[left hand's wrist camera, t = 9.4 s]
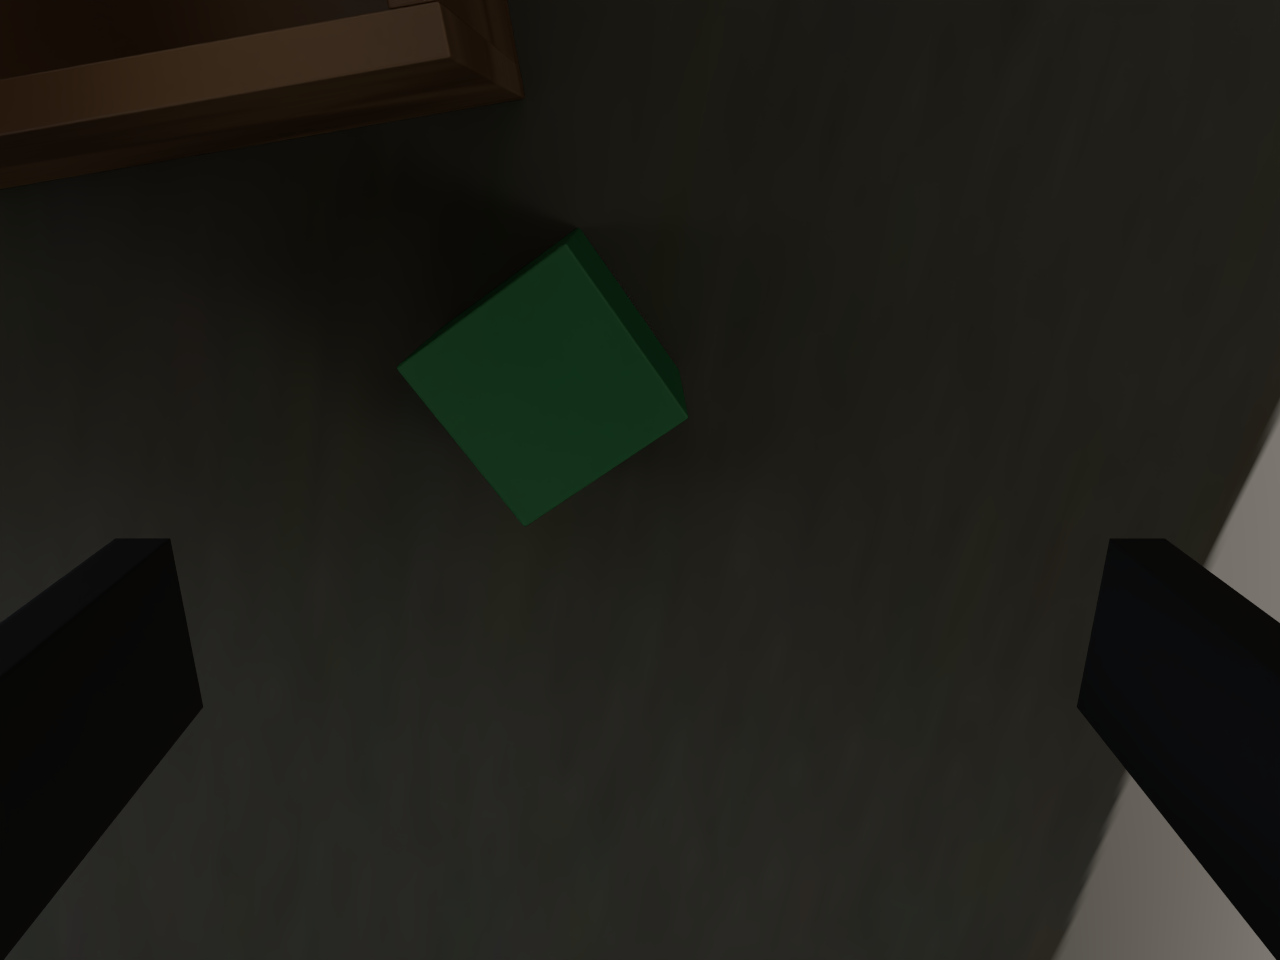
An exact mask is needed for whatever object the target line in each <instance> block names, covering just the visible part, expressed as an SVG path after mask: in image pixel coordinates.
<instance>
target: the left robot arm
mask: <svg viewBox="0 0 1280 960" xmlns="http://www.w3.org/2000/svg"><path fill="white" fill-rule="evenodd" d="M202 708H203V704H202V699H201V694H200V688H199V683H198V678H197V673H196V668H195V663H194V658H193V653H192V648H191V643H190V637H189V632H188V627H187V622H186V617H185V612H184V607H183V602H182V597H181V591H180V586H179V581H178V576H177V571H176V566H175V561H174V556H173V551H172V546H171V540H170V539H114V540H113V541H111V542H110V543H109V544H107V545H106V546H105V547H103V548H102V549H100V550H99V551H98V552H96V553H95V554H94V555H92V556H91V557H90V558H88V559H87V560H86V561H84V562H83V563H81V564H80V565H79V566H77V567H76V568H75V569H73V570H72V571H71V572H69V573H68V574H66V575H65V576H64V577H62V578H61V579H60V580H58V581H57V582H56V583H54V584H53V585H51V586H50V587H49V588H47V589H46V590H45V591H43V592H42V593H41V594H39V595H38V596H36V597H35V598H34V599H32V600H31V601H30V602H28V603H27V604H26V605H24V606H23V607H21V608H20V609H19V610H17V611H16V612H15V613H13V614H12V615H11V616H9V617H8V618H7V619H5V620H4V621H2V622H1V623H0V960H4V959H5V957H6V956H7V955H8V954H9V952H10V951H11V950H12V948H13V947H14V946H15V945H16V943H17V942H18V941H19V940H20V938H21V937H22V936H23V935H24V933H25V932H26V931H27V929H28V928H29V927H30V926H31V924H32V923H33V922H34V921H35V919H36V918H37V917H38V916H39V914H40V913H41V912H42V910H43V909H44V908H45V907H46V905H47V904H48V903H49V902H50V900H51V899H52V898H53V897H54V895H55V894H56V893H57V891H58V890H59V889H60V888H61V886H62V885H63V884H64V883H65V881H66V880H67V879H68V878H69V876H70V875H71V874H72V872H73V871H74V870H75V869H76V867H77V866H78V865H79V864H80V862H81V861H82V860H83V859H84V857H85V856H86V855H87V853H88V852H89V851H90V850H91V848H92V847H93V846H94V845H95V843H96V842H97V841H98V840H99V838H100V837H101V836H102V834H103V833H104V832H105V831H106V829H107V828H108V827H109V826H110V824H111V823H112V822H113V820H114V819H115V818H116V817H117V815H118V814H119V813H120V812H121V810H122V809H123V808H124V807H125V805H126V804H127V803H128V801H129V800H130V799H131V798H132V796H133V795H134V794H135V793H136V791H137V790H138V789H139V788H140V786H141V785H142V784H143V782H144V781H145V780H146V779H147V777H148V776H149V775H150V774H151V772H152V771H153V770H154V769H155V767H156V766H157V765H158V763H159V762H160V761H161V760H162V758H163V757H164V756H165V755H166V753H167V752H168V751H169V750H170V748H171V747H172V746H173V744H174V743H175V742H176V741H177V739H178V738H179V737H180V736H181V734H182V733H183V732H184V731H185V729H186V728H187V727H188V725H189V724H190V723H191V722H192V720H193V719H194V718H195V717H196V715H197V714H198V713H199V712H200V710H201V709H202ZM1077 708H1078V709H1079V710H1080V712H1081V713H1082V714H1083V715H1084V717H1085V718H1086V719H1087V720H1088V722H1089V723H1090V724H1091V725H1092V727H1093V728H1094V729H1095V731H1096V732H1097V733H1098V734H1099V736H1100V737H1101V738H1102V739H1103V741H1104V742H1105V743H1106V744H1107V746H1108V747H1109V748H1110V750H1111V751H1112V752H1113V753H1114V755H1115V756H1116V757H1117V758H1118V760H1119V761H1120V762H1121V763H1122V765H1123V766H1124V767H1125V769H1126V770H1127V771H1128V772H1129V774H1130V775H1131V776H1132V777H1133V779H1134V780H1135V781H1136V782H1137V784H1138V785H1139V786H1140V787H1141V789H1142V790H1143V791H1144V793H1145V794H1146V795H1147V796H1148V798H1149V799H1150V800H1151V801H1152V803H1153V804H1154V805H1155V807H1156V808H1157V809H1158V810H1159V812H1160V813H1161V814H1162V815H1163V817H1164V818H1165V819H1166V820H1167V822H1168V823H1169V824H1170V826H1171V827H1172V828H1173V829H1174V831H1175V832H1176V833H1177V834H1178V836H1179V837H1180V838H1181V839H1182V841H1183V842H1184V843H1185V845H1186V846H1187V847H1188V848H1189V850H1190V851H1191V852H1192V853H1193V855H1194V856H1195V857H1196V858H1197V860H1198V861H1199V862H1200V864H1201V865H1202V866H1203V867H1204V869H1205V870H1206V871H1207V872H1208V874H1209V875H1210V876H1211V878H1212V879H1213V880H1214V881H1215V883H1216V884H1217V885H1218V886H1219V888H1220V889H1221V890H1222V891H1223V893H1224V894H1225V895H1226V897H1227V898H1228V899H1229V900H1230V902H1231V903H1232V904H1233V905H1234V907H1235V908H1236V909H1237V910H1238V912H1239V913H1240V914H1241V916H1242V917H1243V918H1244V919H1245V920H1246V922H1247V923H1248V924H1249V926H1250V927H1251V928H1252V929H1253V931H1254V932H1255V933H1256V935H1257V936H1258V937H1259V938H1260V940H1261V941H1262V942H1263V943H1264V945H1265V946H1266V947H1267V948H1268V950H1269V951H1270V952H1271V953H1272V955H1273V956H1274V957H1275V959H1276V960H1280V623H1279V622H1278V621H1276V620H1275V619H1273V618H1272V617H1271V616H1269V615H1268V614H1267V613H1265V612H1264V611H1263V610H1261V609H1260V608H1259V607H1257V606H1256V605H1254V604H1253V603H1252V602H1250V601H1249V600H1248V599H1246V598H1245V597H1244V596H1242V595H1241V594H1239V593H1238V592H1237V591H1235V590H1234V589H1233V588H1231V587H1230V586H1229V585H1227V584H1226V583H1224V582H1223V581H1222V580H1220V579H1219V578H1218V577H1216V576H1215V575H1214V574H1212V573H1211V572H1209V571H1208V570H1207V569H1205V568H1204V567H1203V566H1201V565H1200V564H1199V563H1197V562H1196V561H1194V560H1193V559H1192V558H1190V557H1189V556H1188V555H1186V554H1185V553H1184V552H1182V551H1181V550H1180V549H1178V548H1177V547H1175V546H1174V545H1173V544H1171V543H1170V542H1169V541H1167V540H1166V539H1110V540H1109V546H1108V551H1107V556H1106V561H1105V566H1104V571H1103V576H1102V581H1101V586H1100V591H1099V597H1098V602H1097V607H1096V612H1095V617H1094V622H1093V627H1092V632H1091V637H1090V643H1089V648H1088V653H1087V658H1086V663H1085V668H1084V673H1083V678H1082V683H1081V688H1080V694H1079V699H1078V704H1077Z"/></svg>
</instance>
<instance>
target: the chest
mask: <svg viewBox="0 0 1280 960" xmlns="http://www.w3.org/2000/svg"><path fill="white" fill-rule="evenodd" d="M524 98H525V94H524V89H523V83H522V78H521V73H520V67H519V62H518V56H517V51H516V46H515V40H514V35H513V30H512V24H511V19H510V13H509V8H508V3H507V0H0V189H5V188H11V187H17V186H22V185H28V184H34V183H40V182H46V181H51V180H57V179H63V178H69V177H75V176H80V175H86V174H92V173H98V172H104V171H109V170H115V169H121V168H127V167H132V166H138V165H144V164H150V163H156V162H161V161H167V160H173V159H179V158H185V157H190V156H196V155H202V154H208V153H214V152H219V151H225V150H231V149H237V148H243V147H248V146H254V145H260V144H266V143H271V142H277V141H283V140H289V139H295V138H300V137H306V136H312V135H318V134H324V133H329V132H335V131H341V130H347V129H353V128H358V127H364V126H370V125H376V124H382V123H387V122H393V121H399V120H405V119H410V118H416V117H422V116H428V115H434V114H439V113H445V112H451V111H457V110H463V109H468V108H474V107H480V106H486V105H492V104H497V103H503V102H509V101H515V100H521V99H524Z"/></svg>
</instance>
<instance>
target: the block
mask: <svg viewBox="0 0 1280 960" xmlns="http://www.w3.org/2000/svg"><path fill="white" fill-rule="evenodd" d="M397 370H398V371H399V372H400V373H401V375H402V376H403V377H404V378H405V380H406V381H407V382H408V383H409V385H410V386H411V387H412V388H413V390H414V391H415V392H416V393H417V395H418V396H419V397H420V398H421V399H422V401H423V402H424V403H425V404H426V406H427V407H428V408H429V409H430V411H431V412H432V413H433V414H434V416H435V417H436V418H437V419H438V421H439V422H440V423H441V424H442V426H443V427H444V428H445V429H446V431H447V432H448V433H449V434H450V435H451V437H452V438H453V439H454V440H455V442H456V443H457V444H458V445H459V447H460V448H461V449H462V450H463V452H464V453H465V454H466V455H467V457H468V458H469V459H470V460H471V462H472V463H473V464H474V465H475V467H476V468H477V469H478V470H479V471H480V473H481V474H482V475H483V476H484V478H485V479H486V480H487V481H488V483H489V484H490V485H491V486H492V488H493V489H494V490H495V491H496V493H497V494H498V495H499V496H500V498H501V499H502V500H503V501H504V503H505V504H506V505H507V506H508V507H509V509H510V510H511V511H512V512H513V514H514V515H515V516H516V517H517V519H518V520H519V521H520V522H521V524H522V525H523V526H527V525H529V524H530V523H532V522H533V521H535V520H536V519H538V518H539V517H541V516H542V515H544V514H545V513H547V512H548V511H550V510H551V509H553V508H554V507H556V506H557V505H559V504H560V503H562V502H563V501H565V500H566V499H568V498H569V497H571V496H572V495H574V494H575V493H577V492H578V491H580V490H581V489H583V488H584V487H586V486H587V485H589V484H590V483H592V482H593V481H595V480H596V479H598V478H599V477H601V476H602V475H604V474H605V473H607V472H608V471H610V470H611V469H613V468H614V467H616V466H617V465H619V464H620V463H622V462H623V461H625V460H626V459H628V458H629V457H631V456H632V455H634V454H635V453H637V452H638V451H640V450H641V449H643V448H644V447H646V446H647V445H649V444H650V443H652V442H653V441H655V440H656V439H658V438H659V437H661V436H662V435H664V434H665V433H667V432H668V431H670V430H671V429H673V428H674V427H676V426H677V425H679V424H680V423H682V422H683V421H685V420H686V419H687V418H688V413H687V408H686V403H685V398H684V393H683V388H682V383H681V378H680V373H679V370H678V368H677V367H676V365H675V364H674V362H673V361H672V360H671V358H670V357H669V355H668V354H667V352H666V351H665V350H664V348H663V347H662V345H661V344H660V342H659V341H658V340H657V338H656V337H655V335H654V334H653V332H652V331H651V329H650V328H649V327H648V325H647V324H646V322H645V321H644V319H643V318H642V317H641V315H640V314H639V312H638V311H637V309H636V308H635V307H634V305H633V304H632V302H631V301H630V299H629V298H628V296H627V295H626V294H625V292H624V291H623V289H622V288H621V286H620V285H619V284H618V282H617V281H616V279H615V278H614V276H613V275H612V274H611V272H610V271H609V269H608V268H607V266H606V265H605V263H604V262H603V261H602V259H601V258H600V256H599V255H598V253H597V252H596V251H595V249H594V248H593V246H592V245H591V243H590V242H589V241H588V239H587V238H586V236H585V235H584V233H583V232H582V230H581V229H580V228H576V229H575V230H574V231H572V232H571V233H569V234H568V235H567V236H565V237H564V238H563V239H561V240H560V241H559V242H557V243H556V244H555V245H553V246H552V247H550V248H549V249H548V250H546V251H545V252H544V253H542V254H541V255H540V256H538V257H537V258H536V259H534V260H533V261H531V262H530V263H529V264H527V265H526V266H525V267H523V268H522V269H521V270H519V271H518V272H517V273H515V274H514V275H512V276H511V277H510V278H508V279H507V280H506V281H504V282H503V283H502V284H500V285H499V286H498V287H496V288H495V289H493V290H492V291H491V292H489V293H488V294H487V295H485V296H484V297H483V298H481V299H480V300H479V301H477V302H476V303H474V304H473V305H472V306H470V307H469V308H468V309H466V310H465V311H464V312H462V313H461V314H460V315H458V316H457V317H455V318H454V319H453V320H451V321H450V322H449V323H447V324H446V325H445V326H443V327H442V328H441V329H439V330H438V331H437V332H436V333H435V334H434V335H432V336H431V337H430V338H429V339H428V340H427V341H426V342H424V343H423V344H422V345H421V346H420V347H419V348H417V349H416V350H415V351H414V352H413V353H412V354H411V355H409V356H408V357H407V358H406V359H405V360H404V361H403V362H401V363H400V364H399V365H398V366H397Z"/></svg>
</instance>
